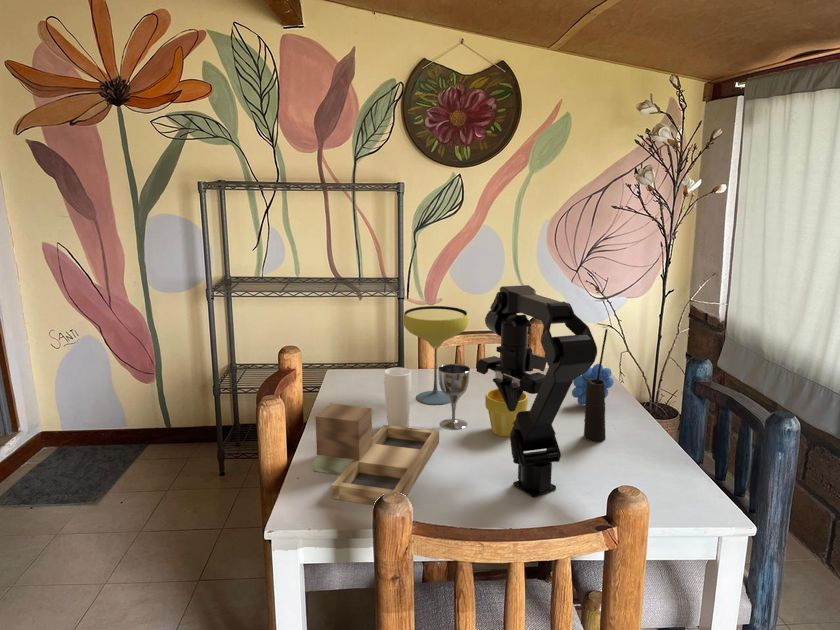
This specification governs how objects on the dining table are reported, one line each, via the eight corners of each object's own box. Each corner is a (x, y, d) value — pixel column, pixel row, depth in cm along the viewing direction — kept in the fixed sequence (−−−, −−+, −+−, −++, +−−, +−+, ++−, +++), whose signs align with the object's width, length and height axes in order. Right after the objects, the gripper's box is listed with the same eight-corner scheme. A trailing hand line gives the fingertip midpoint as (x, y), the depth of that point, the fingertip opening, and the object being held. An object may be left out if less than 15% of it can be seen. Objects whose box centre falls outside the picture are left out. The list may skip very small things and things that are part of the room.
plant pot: (525, 441, 155) (527, 403, 153) (482, 438, 157) (483, 400, 155) (527, 425, 165) (528, 388, 163) (486, 421, 167) (487, 386, 165)
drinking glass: (379, 430, 162) (378, 373, 159) (393, 420, 168) (392, 365, 165) (403, 435, 159) (402, 377, 156) (416, 425, 165) (416, 369, 162)
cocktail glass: (468, 388, 192) (469, 306, 186) (465, 411, 175) (467, 321, 169) (407, 386, 194) (407, 305, 188) (399, 408, 176) (398, 319, 171)
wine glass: (450, 415, 171) (450, 361, 168) (475, 423, 166) (476, 367, 163) (431, 425, 165) (431, 369, 162) (456, 433, 160) (457, 375, 157)
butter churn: (562, 434, 159) (567, 324, 153) (589, 426, 164) (596, 319, 158) (590, 448, 152) (597, 333, 145) (617, 438, 157) (626, 327, 150)
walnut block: (372, 445, 147) (371, 407, 145) (359, 460, 139) (358, 421, 137) (331, 440, 149) (330, 403, 147) (316, 454, 142) (315, 416, 140)
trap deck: (439, 442, 155) (439, 431, 154) (398, 508, 125) (398, 494, 125) (351, 432, 161) (351, 421, 160) (293, 492, 132) (292, 479, 131)
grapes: (605, 398, 183) (608, 358, 181) (615, 407, 177) (618, 365, 174) (565, 400, 182) (568, 360, 179) (574, 409, 176) (576, 367, 173)
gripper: (572, 347, 136) (568, 416, 139) (512, 328, 151) (510, 391, 155) (533, 355, 130) (530, 428, 133) (475, 335, 145) (474, 401, 148)
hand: (511, 410), depth 143 cm, fingers closed
